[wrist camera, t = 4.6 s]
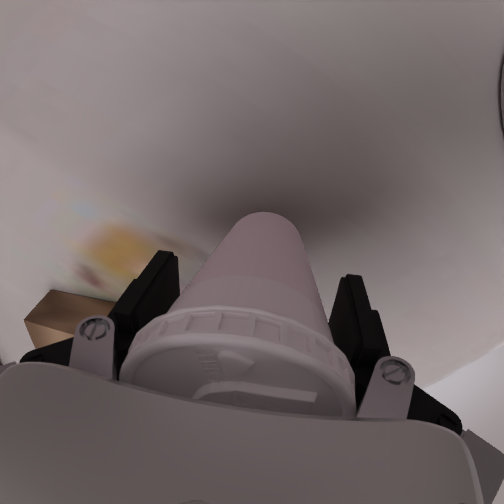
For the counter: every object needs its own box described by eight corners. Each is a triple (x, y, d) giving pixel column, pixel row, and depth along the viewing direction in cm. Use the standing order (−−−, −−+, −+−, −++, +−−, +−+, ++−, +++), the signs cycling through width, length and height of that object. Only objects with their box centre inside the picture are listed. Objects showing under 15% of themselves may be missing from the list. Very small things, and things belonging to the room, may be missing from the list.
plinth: (224, 319, 21) (214, 363, 17) (221, 427, 27) (215, 461, 24) (51, 289, 21) (23, 320, 18) (91, 398, 28) (77, 426, 24)
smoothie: (352, 264, 16) (403, 572, 4) (250, 316, 18) (198, 575, 6) (282, 157, 14) (213, 575, 1) (176, 229, 16) (10, 497, 4)
